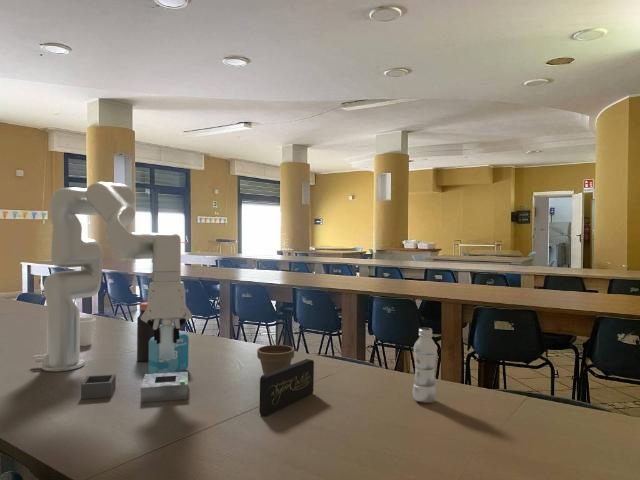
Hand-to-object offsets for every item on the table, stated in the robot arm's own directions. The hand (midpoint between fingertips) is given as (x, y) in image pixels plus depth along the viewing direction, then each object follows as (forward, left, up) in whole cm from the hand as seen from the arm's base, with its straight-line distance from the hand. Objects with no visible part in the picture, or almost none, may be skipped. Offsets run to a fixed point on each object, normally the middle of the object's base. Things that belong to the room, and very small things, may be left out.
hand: (166, 341), depth 133 cm
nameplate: (+32, -15, -15) cm, 38 cm away
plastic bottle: (+69, -22, -15) cm, 74 cm away
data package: (0, +20, -15) cm, 25 cm away
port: (0, 0, -15) cm, 15 cm away
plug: (0, 0, -4) cm, 4 cm away
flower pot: (+32, +4, -15) cm, 35 cm away
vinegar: (-8, +37, -15) cm, 41 cm away
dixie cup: (-34, +65, -15) cm, 75 cm away
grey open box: (-18, +4, -15) cm, 24 cm away
